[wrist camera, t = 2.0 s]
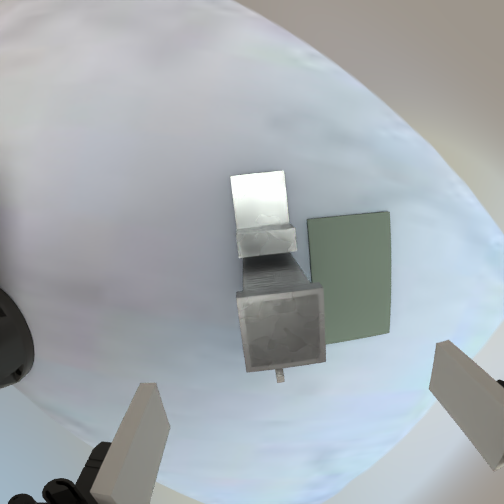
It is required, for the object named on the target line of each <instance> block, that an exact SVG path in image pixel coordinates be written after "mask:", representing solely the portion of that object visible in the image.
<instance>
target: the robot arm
mask: <svg viewBox="0 0 504 504" xmlns="http://www.w3.org/2000/svg"><path fill="white" fill-rule="evenodd" d="M33 359H34V350H33V343H32V339H31V335H30V332H29V329H28V327H27V324H26V322H25V320H24V318H23V316H22V314H21V313H20V311H19V309H18V308H17V306H16V305H15V304H14V302H13V301H12V300H11V299H10V297H9V296H8V295H7V294H6V293H5V292H3V291H2V290H1V289H0V388H4V387H6V386H9V385H12V384H15V383H17V382H19V381H20V380H21V379H22V378H23V377H24V376H25V375H26V374H27V373H28V372H29V371H30V369H31V367H32V364H33ZM429 390H430V391H431V392H432V393H433V395H434V396H435V397H436V398H437V400H438V401H439V402H440V403H441V405H442V406H443V407H444V408H445V409H446V411H447V412H448V413H449V414H450V416H451V417H452V418H453V419H454V421H455V422H456V423H457V425H458V426H459V427H460V428H461V430H462V431H463V432H464V433H465V435H466V436H467V437H468V439H469V440H470V441H471V442H472V444H473V445H474V446H475V448H476V449H477V450H478V452H479V453H480V454H481V455H482V457H483V458H484V459H485V461H486V462H487V463H488V465H489V466H490V467H491V469H492V470H493V471H494V472H495V471H496V470H498V469H499V468H501V467H503V466H504V381H502V380H498V381H495V380H494V379H493V378H492V377H491V376H489V374H488V373H486V372H485V371H484V370H483V369H482V368H481V367H480V366H478V365H477V364H476V363H475V362H474V361H473V360H472V359H470V358H469V357H468V356H467V355H466V354H465V353H463V352H462V351H461V350H460V349H459V348H458V347H456V346H455V345H454V344H453V343H452V342H451V341H449V340H447V341H443V342H440V343H436V350H435V356H434V363H433V369H432V374H431V380H430V385H429ZM169 430H170V424H169V422H168V419H167V416H166V413H165V410H164V407H163V404H162V400H161V397H160V394H159V391H158V388H157V384H156V383H140V385H139V387H138V389H137V391H136V393H135V395H134V397H133V399H132V401H131V404H130V406H129V408H128V410H127V412H126V414H125V416H124V418H123V420H122V422H121V424H120V427H119V429H118V431H117V433H116V435H115V437H114V439H113V442H112V443H110V442H101V443H99V444H98V445H97V446H96V447H95V448H94V449H93V450H92V453H91V455H90V456H89V460H87V462H86V464H85V467H84V468H83V470H82V472H81V474H80V476H79V478H78V480H77V482H76V484H75V485H74V483H73V482H72V481H70V480H68V479H64V478H59V479H54V480H52V481H50V482H48V483H47V484H46V485H45V486H44V489H43V491H42V496H43V498H44V499H45V500H46V502H47V503H37V502H36V501H35V500H34V499H33V498H32V496H30V495H28V494H18V495H15V496H14V497H12V498H11V499H10V500H9V502H8V504H150V500H151V496H152V492H153V489H154V485H155V481H156V477H157V474H158V470H159V466H160V463H161V459H162V455H163V452H164V448H165V445H166V441H167V437H168V434H169Z"/></svg>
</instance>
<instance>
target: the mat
mask: <svg viewBox="0 0 504 504" xmlns="http://www.w3.org/2000/svg"><path fill="white" fill-rule="evenodd" d="M307 226H308V238H309V251H310V264H311V279H312V283H314V282H319V283H320V284H321V285H322V287H323V290H324V313H325V345H326V344H332V343H338V342H344V341H350V340H355V339H360V338H366V337H371V336H376V335H381V334H386V333H389V329H390V307H391V232H390V212H377V213H366V214H355V215H345V216H335V217H325V218H315V219H307Z"/></svg>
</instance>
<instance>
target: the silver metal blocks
mask: <svg viewBox="0 0 504 504" xmlns="http://www.w3.org/2000/svg"><path fill="white" fill-rule="evenodd" d="M230 177H231V185H232V194H233V202H234V211H235V219H236V227H237V231H236V239H237V247H238V256H239V258H243V257H252V256H260V255H269V254H277V253H286V252H295V251H297V243H296V232H295V228H294V227H293V226H292V225H291V224H290V223H289V214H288V204H287V195H286V185H285V176H284V171H274V172H264V173H255V174H246V175H237V176H230ZM275 372H276V378H277V383H280V382H284V374H283V369H282V368H281V369H275Z"/></svg>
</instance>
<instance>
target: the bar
mask: <svg viewBox="0 0 504 504" xmlns="http://www.w3.org/2000/svg"><path fill="white" fill-rule="evenodd" d="M236 300H237V308H238V315H239V322H240V329H241V336H242V343H243V350H244V357H245V364H246V371H247V372H255V371H264V370H273V369H281V368H288V367H295V366H302V365H309V364H315V363H321V362H326V346H325V313H324V290H323V287H322V285H321V284H320V283H319V282H314V283H310V281H309V280H308V278H307V277H306V275H305V274H304V272H303V271H302V270H301V268H300V267H299V265H298V264H297V262H296V261H295V259H294V258H293V256H292V255H291V253H290V252H286V253H277V254H269V255H260V256H252V257H243V291H241V292H237V294H236Z"/></svg>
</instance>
